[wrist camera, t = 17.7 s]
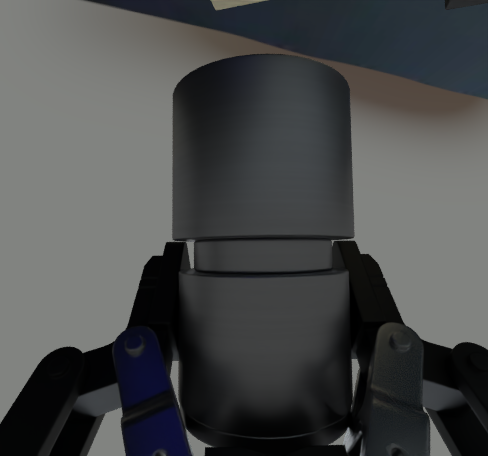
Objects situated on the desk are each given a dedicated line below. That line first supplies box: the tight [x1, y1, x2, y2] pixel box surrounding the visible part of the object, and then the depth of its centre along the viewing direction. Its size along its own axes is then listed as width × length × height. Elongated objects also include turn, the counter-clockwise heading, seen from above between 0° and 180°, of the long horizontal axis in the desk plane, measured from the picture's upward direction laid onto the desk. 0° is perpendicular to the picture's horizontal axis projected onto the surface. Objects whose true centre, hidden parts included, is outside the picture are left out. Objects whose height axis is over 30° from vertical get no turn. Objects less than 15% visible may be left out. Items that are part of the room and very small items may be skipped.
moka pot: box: [172, 54, 354, 456], centre depth 13 cm, size 6×9×12 cm
